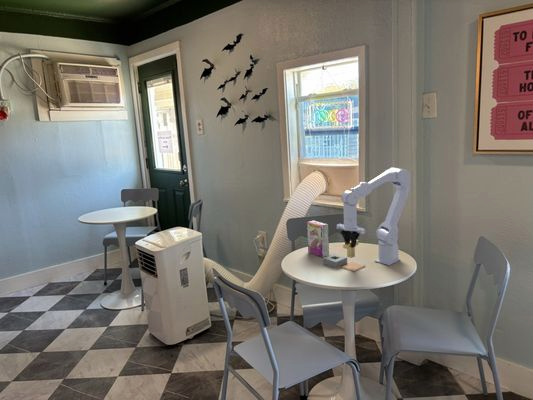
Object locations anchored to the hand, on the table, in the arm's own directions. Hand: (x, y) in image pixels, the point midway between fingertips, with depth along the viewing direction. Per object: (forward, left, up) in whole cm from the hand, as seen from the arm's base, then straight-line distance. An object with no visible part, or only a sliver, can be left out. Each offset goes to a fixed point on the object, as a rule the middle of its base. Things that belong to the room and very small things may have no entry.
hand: (350, 246), depth 176 cm
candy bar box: (-3, -23, -10) cm, 25 cm away
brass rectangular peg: (0, 0, -5) cm, 5 cm away
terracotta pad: (0, +1, -10) cm, 10 cm away
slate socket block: (+2, -8, -10) cm, 13 cm away
